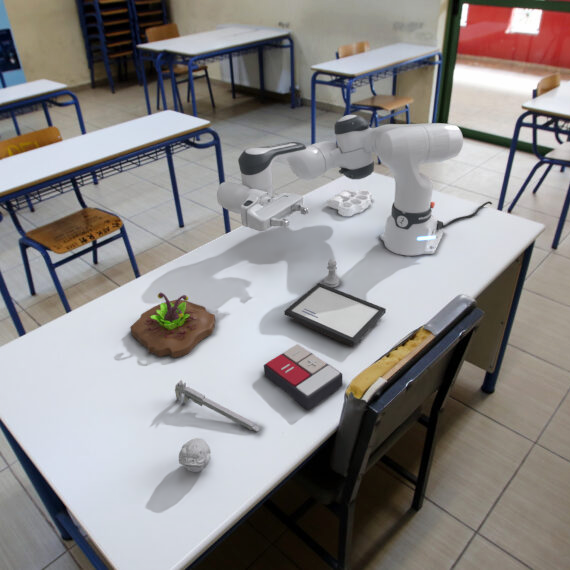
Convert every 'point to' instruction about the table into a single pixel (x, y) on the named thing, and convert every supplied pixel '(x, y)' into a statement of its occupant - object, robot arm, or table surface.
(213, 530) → the table surface
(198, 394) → the caliper
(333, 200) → the white egg carton
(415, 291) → the table surface
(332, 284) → the chess piece
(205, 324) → the plant
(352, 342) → the whiteboard
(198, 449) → the frog figurine
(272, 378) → the calculator
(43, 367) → the table surface
